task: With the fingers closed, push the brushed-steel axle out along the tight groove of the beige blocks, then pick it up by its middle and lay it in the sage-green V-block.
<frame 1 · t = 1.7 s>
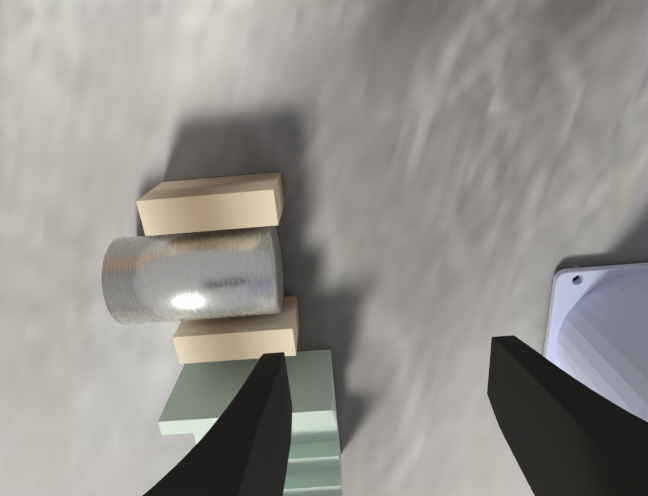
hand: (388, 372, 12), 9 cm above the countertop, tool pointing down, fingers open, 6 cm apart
beige blocks: (235, 255, 21), on the countertop
axle: (211, 256, 21), on the countertop
v block: (268, 409, 25), on the countertop
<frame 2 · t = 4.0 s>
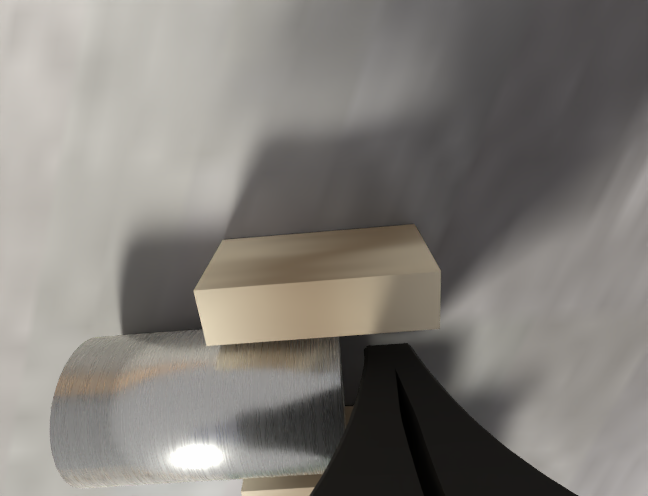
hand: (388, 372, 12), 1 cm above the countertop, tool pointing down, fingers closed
beige blocks: (329, 347, 14), on the countertop
axle: (232, 354, 14), on the countertop, touching gripper
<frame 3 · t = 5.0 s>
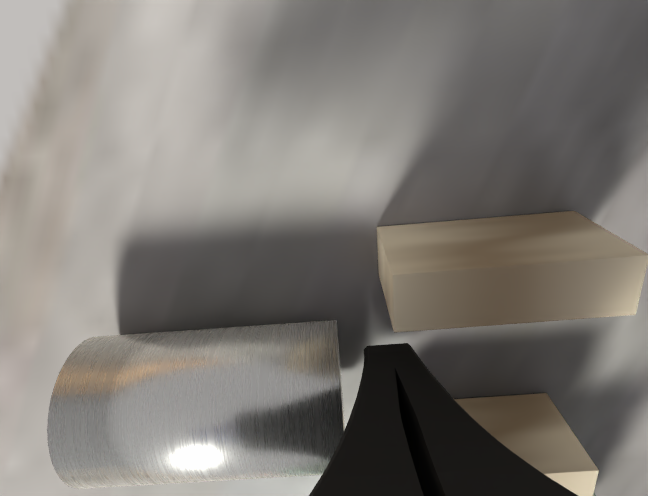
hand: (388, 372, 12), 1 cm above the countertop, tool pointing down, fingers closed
beige blocks: (468, 337, 14), on the countertop
axle: (231, 355, 14), on the countertop, touching gripper
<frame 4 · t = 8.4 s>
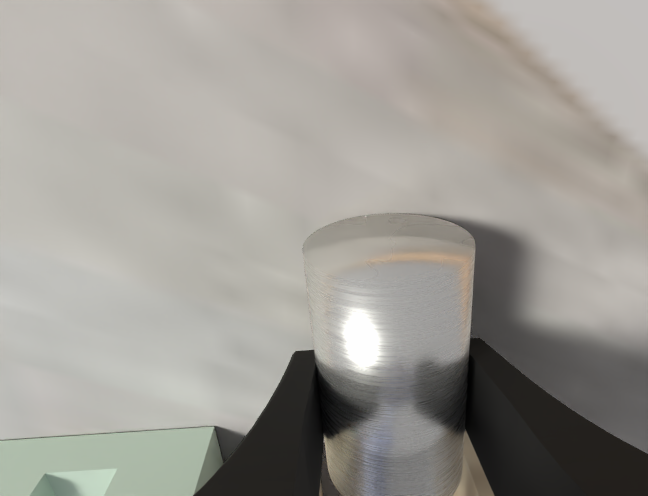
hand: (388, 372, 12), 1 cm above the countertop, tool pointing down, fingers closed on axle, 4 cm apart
beige blocks: (387, 489, 16), on the countertop
axle: (379, 320, 13), on the countertop, touching gripper
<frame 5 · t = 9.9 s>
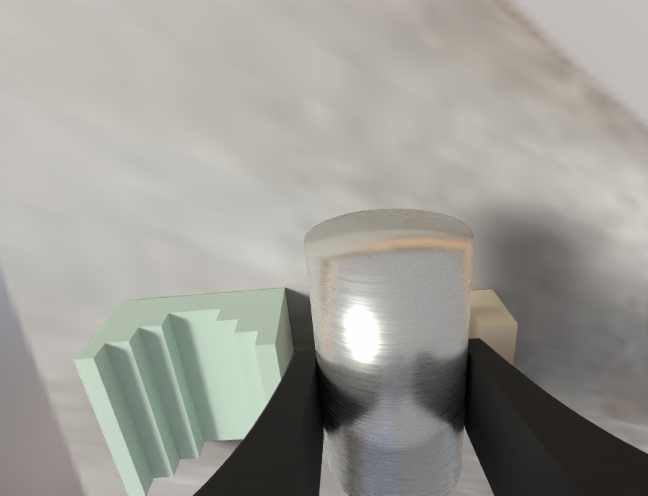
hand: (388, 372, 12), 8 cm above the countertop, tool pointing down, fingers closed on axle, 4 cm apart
beige blocks: (410, 342, 22), on the countertop
axle: (380, 315, 14), point 7 cm above the countertop, touching gripper
v block: (218, 360, 22), on the countertop
when the fingers open (6 cm above the countertop, at t = 11.4 s): axle drops 2 cm, resting on v block.
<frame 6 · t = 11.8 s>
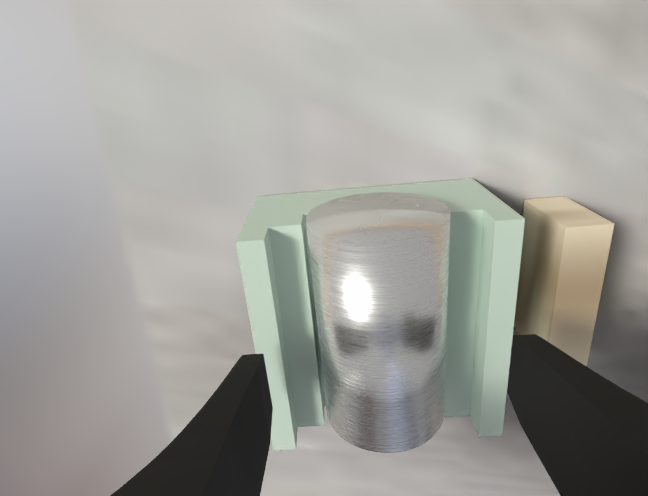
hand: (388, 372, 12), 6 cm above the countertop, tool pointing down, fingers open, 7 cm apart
beige blocks: (618, 257, 17), on the countertop
axle: (373, 287, 15), point 2 cm above the countertop, touching v block
v block: (369, 282, 18), on the countertop
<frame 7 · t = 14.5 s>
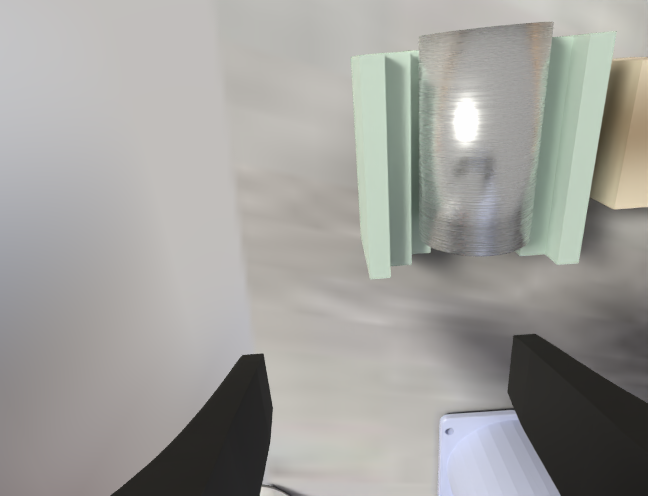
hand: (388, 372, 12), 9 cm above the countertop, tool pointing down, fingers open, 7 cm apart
axle: (459, 133, 17), point 2 cm above the countertop, touching v block
v block: (445, 146, 19), on the countertop
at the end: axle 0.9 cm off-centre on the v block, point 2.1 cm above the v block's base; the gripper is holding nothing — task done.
